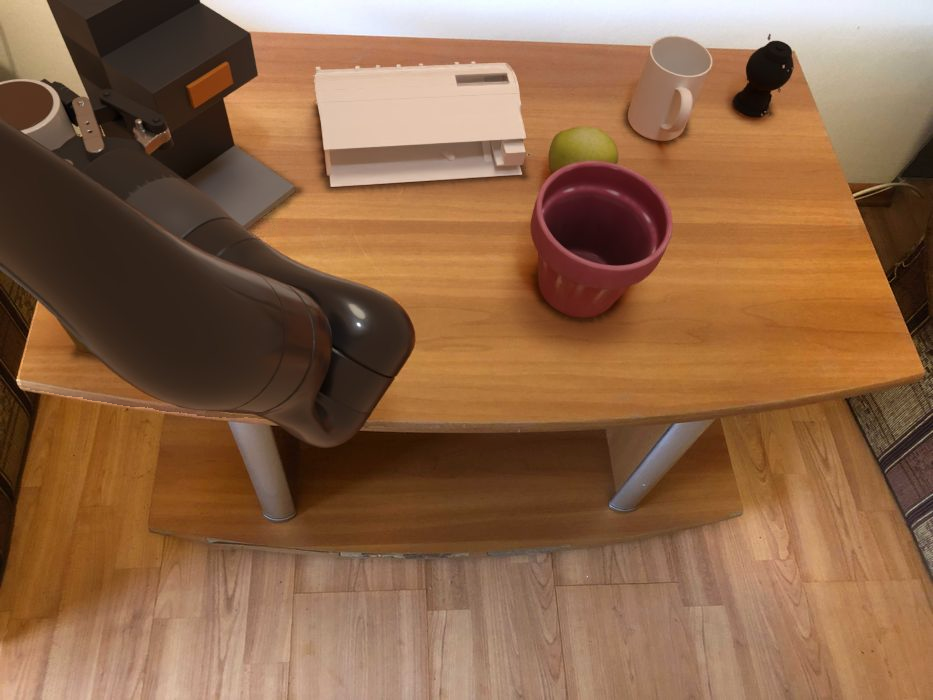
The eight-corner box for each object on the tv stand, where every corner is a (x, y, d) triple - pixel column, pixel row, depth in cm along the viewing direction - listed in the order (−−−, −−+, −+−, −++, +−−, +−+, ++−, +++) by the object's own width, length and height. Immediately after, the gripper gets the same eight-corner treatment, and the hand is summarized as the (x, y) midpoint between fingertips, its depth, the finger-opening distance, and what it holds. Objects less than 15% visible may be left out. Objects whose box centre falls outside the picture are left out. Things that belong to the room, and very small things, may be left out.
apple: (605, 217, 91) (623, 169, 84) (535, 194, 91) (546, 146, 85) (619, 174, 95) (637, 126, 88) (552, 153, 95) (564, 103, 89)
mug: (624, 99, 102) (646, 32, 93) (679, 104, 103) (707, 37, 94) (633, 163, 96) (658, 98, 87) (692, 167, 96) (723, 103, 87)
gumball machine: (779, 121, 103) (815, 60, 94) (743, 129, 101) (776, 67, 93) (754, 90, 106) (786, 28, 97) (719, 97, 104) (748, 34, 96)
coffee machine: (295, 191, 88) (266, 9, 68) (219, 250, 83) (163, 71, 62) (202, 127, 92) (148, -63, 72) (123, 180, 87) (41, -10, 66)
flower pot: (642, 344, 81) (681, 274, 70) (516, 333, 81) (535, 260, 70) (633, 243, 89) (667, 166, 78) (517, 232, 88) (535, 152, 77)
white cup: (8, 215, 59) (-50, 126, 51) (42, 162, 62) (-7, 71, 54) (82, 228, 59) (35, 141, 51) (113, 174, 62) (73, 85, 54)
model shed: (324, 187, 89) (319, 144, 83) (315, 104, 96) (310, 59, 90) (524, 174, 93) (534, 132, 87) (502, 96, 100) (509, 52, 94)
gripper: (227, 132, 51) (68, 23, 55) (46, 256, 44) (-120, 122, 48) (246, 206, 57) (101, 104, 61) (89, 325, 50) (-60, 201, 55)
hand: (5, 112), depth 55 cm, fingers closed on white cup, 6 cm apart
